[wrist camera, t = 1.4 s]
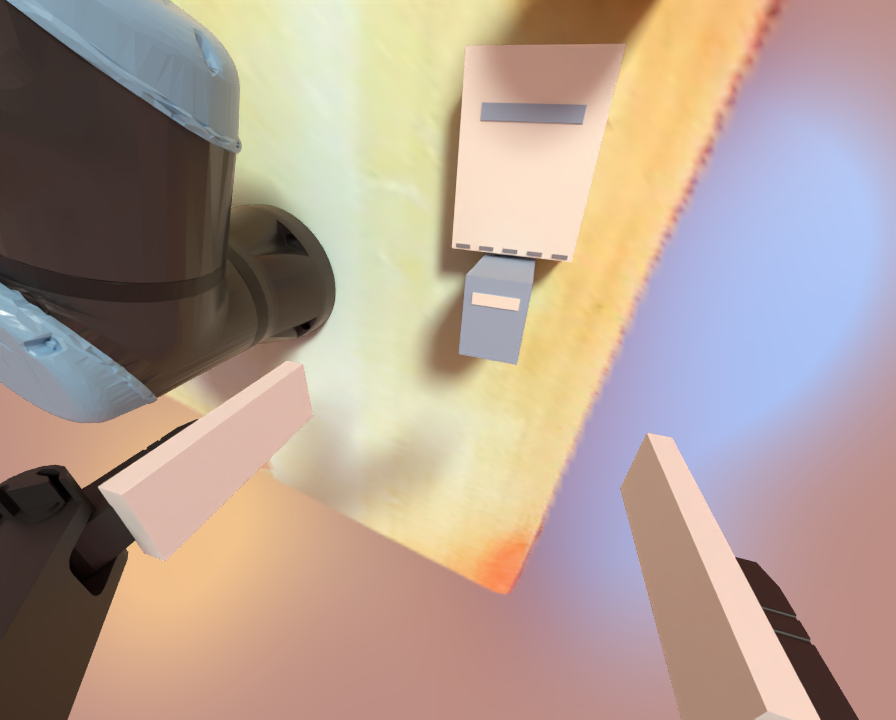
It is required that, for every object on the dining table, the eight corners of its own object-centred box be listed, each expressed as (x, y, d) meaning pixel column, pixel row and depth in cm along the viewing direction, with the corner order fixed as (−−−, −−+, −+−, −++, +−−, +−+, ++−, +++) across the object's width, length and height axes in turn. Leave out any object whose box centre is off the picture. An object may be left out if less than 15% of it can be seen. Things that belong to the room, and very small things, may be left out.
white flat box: (461, 241, 31) (451, 248, 27) (476, 65, 25) (465, 44, 21) (568, 253, 29) (571, 262, 25) (613, 65, 23) (626, 42, 19)
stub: (481, 309, 33) (458, 354, 24) (489, 249, 30) (465, 275, 21) (524, 316, 32) (516, 365, 23) (536, 255, 29) (532, 284, 20)
